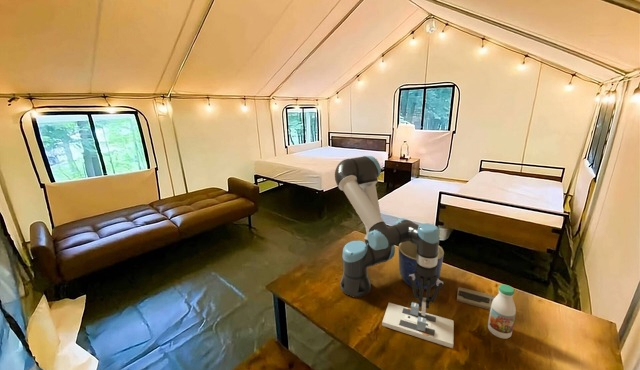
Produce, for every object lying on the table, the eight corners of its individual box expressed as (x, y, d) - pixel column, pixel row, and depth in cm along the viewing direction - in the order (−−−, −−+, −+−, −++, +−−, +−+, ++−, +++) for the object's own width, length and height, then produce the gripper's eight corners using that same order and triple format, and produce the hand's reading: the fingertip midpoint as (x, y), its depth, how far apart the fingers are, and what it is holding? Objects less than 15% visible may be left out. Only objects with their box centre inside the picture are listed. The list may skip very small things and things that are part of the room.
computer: (456, 301, 118) (457, 295, 117) (457, 291, 125) (458, 285, 124) (497, 313, 110) (499, 307, 109) (496, 301, 117) (497, 295, 116)
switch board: (382, 325, 107) (382, 321, 106) (388, 306, 117) (388, 301, 117) (452, 348, 96) (453, 343, 95) (453, 324, 106) (453, 320, 105)
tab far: (410, 313, 109) (410, 305, 108) (411, 309, 111) (411, 301, 110) (418, 316, 108) (418, 307, 107) (418, 311, 110) (419, 303, 109)
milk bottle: (483, 324, 105) (489, 282, 99) (501, 322, 106) (508, 280, 100) (497, 340, 98) (505, 296, 92) (516, 338, 98) (525, 293, 92)
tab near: (416, 329, 102) (417, 320, 100) (417, 324, 104) (418, 315, 103) (425, 331, 100) (425, 322, 99) (425, 326, 102) (426, 318, 101)
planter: (439, 272, 138) (441, 240, 132) (442, 299, 119) (446, 263, 114) (398, 267, 145) (399, 236, 139) (396, 291, 126) (397, 257, 121)
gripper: (407, 264, 101) (405, 314, 107) (444, 272, 95) (440, 324, 101) (410, 254, 107) (408, 302, 113) (445, 261, 101) (441, 311, 107)
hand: (423, 313), depth 107 cm, fingers closed
